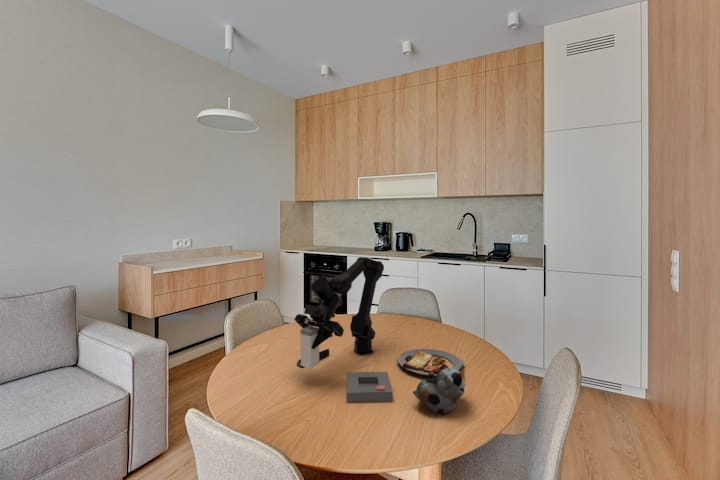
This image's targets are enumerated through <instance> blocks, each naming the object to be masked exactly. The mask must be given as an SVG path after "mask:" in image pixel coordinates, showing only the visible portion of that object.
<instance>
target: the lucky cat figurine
mask: <svg viewBox="0 0 720 480" xmlns="http://www.w3.org/2000/svg"><path fill="white" fill-rule="evenodd" d="M465 374H466V373H465V370H461V371H460V370H459V371H458V370H456V369H453V368H452V367H451V368H450V367H448V368H445V369H443V370H441V371H440V372H439V373H438V375H437V376H434V373H433V372H430V373H429V374H428V376H427V378H426V379H422V380H421V381H420V382H419V383H418V385H417V386H416V389H415V390H413V391H412V393H413V395H414V397H415V398H417V399H418V400H419V401H420V402H421V403H423V404H424V405H426V407H427V408H428V409H430V410H431V411H433V412H434V413H437V414H439V413H440V414H441V415H442V416H446V415H448V414H450V413H451V412H453V411H454V410H455V408H456V405H457V401H458V400H459V399H460V398H461V397H463V395H465V387H466V385H467V384H466V382H465V381H466V377H465Z"/></svg>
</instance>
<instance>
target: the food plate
mask: <svg viewBox="0 0 720 480" xmlns="http://www.w3.org/2000/svg"><path fill="white" fill-rule="evenodd" d="M432 356H433V357H432ZM434 357H437V358H434ZM431 358H432V359H431ZM441 358H443V359H446V360H448V361H449V362H450V363H451V364H452V365H453V369H456V370H458V371H459V372H460V369H461V368H462V367H463V365H464V364H465V362H464V361H463V359H461V358H459V357H458V356H457V355H455V354H453V353H449V352H448V351H447V352H446V351H445V350H440V349H434V348H416V349H415V348H414V349H411V350H407V351H404V352H403V353H401V354H400V356H398V358H397V359H396V362H397V364H398V365H399V366H400V367H401V368H402V369H404V370H405V371H408V372H412V373H414V374H418V375H419V376H426V377H428V374H429V373H430V372H433V373H434V377H437V375H438V373H439V372H440V371H441V370H443V369H445V368H449V365H447V364H445V362H446V361H445V360H443V359H441ZM430 359H431V360H432V361H431V362H430ZM444 361H445V362H444ZM429 362H430V363H432V366H430V365H429V364H428V363H429ZM443 362H444V363H443ZM449 362H448V363H449ZM442 363H443V364H442ZM441 364H442V366H439V365H441Z"/></svg>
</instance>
